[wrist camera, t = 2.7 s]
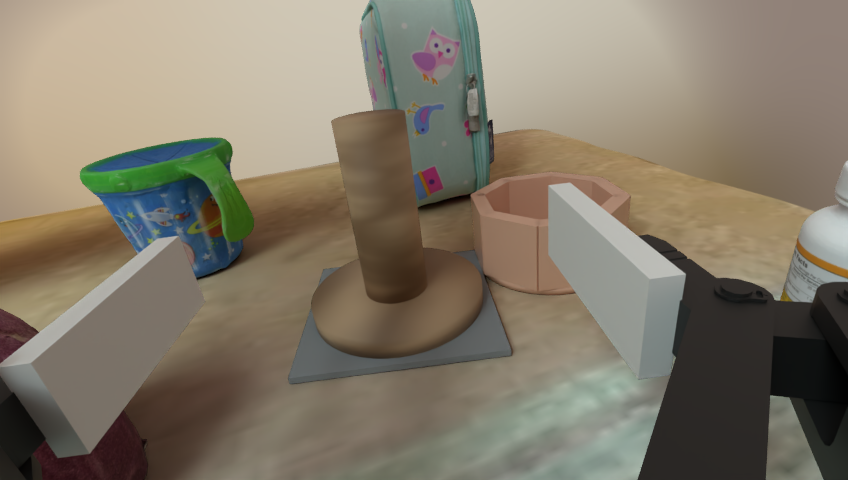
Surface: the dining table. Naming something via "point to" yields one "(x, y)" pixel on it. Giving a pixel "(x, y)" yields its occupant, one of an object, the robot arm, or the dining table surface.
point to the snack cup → (176, 199)
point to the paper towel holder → (390, 254)
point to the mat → (472, 344)
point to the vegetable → (113, 455)
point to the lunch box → (432, 90)
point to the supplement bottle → (820, 248)
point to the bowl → (530, 228)
